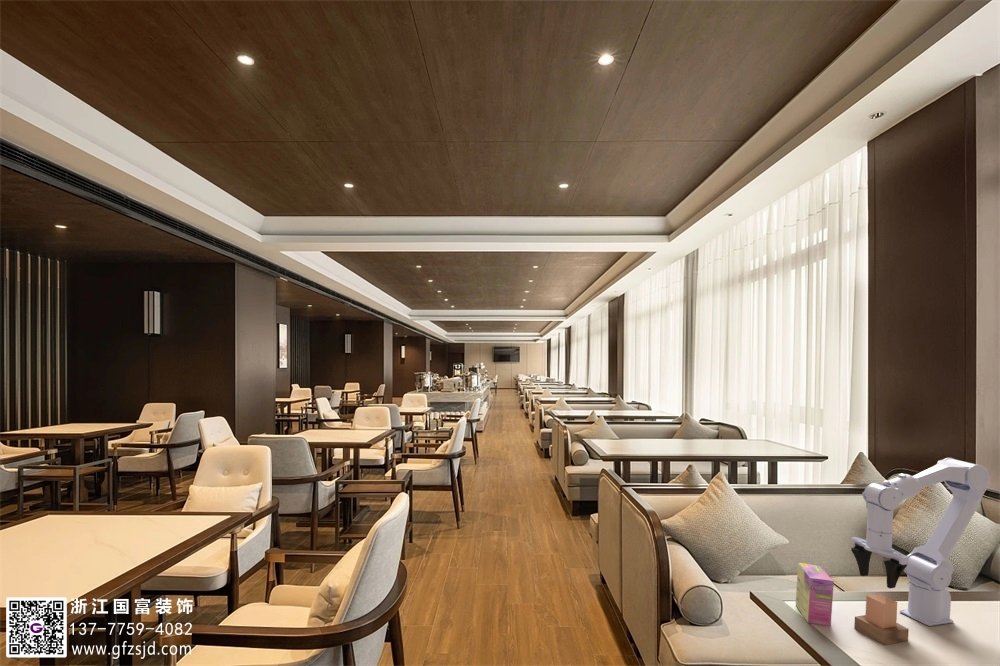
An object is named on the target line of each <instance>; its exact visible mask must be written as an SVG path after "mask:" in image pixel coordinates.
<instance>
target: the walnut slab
mask: <svg viewBox="0 0 1000 666" xmlns="http://www.w3.org/2000/svg"><path fill="white" fill-rule="evenodd" d="M865 616H866V614H864V615H859V616H858V615H857V616H854V624H853V625H854V630H856V631H858V632H859V633H862V634H864V635H866V636H868V637H869V638H871V639H873V640H874V639H875V640H874V641H876V640H877V641H876V642H878V641H879V642H878V643H880V644H881V645H884V646H886V645H893V644H899V643H904V642H909V632H910V631H909V630H910V629H909V627H906V626H904V625H902V624H900V623H898V622H896V626H894V627H888V628H881V627H879V626H877V625H875V624H873V623H871V622H870V621H868V620H866V619H865Z"/></svg>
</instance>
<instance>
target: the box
mask: <svg viewBox="0 0 1000 666" xmlns="http://www.w3.org/2000/svg"><path fill="white" fill-rule="evenodd" d="M796 576H797V577H796V590H795V592H796V594H795V606H796V607H797V608H798V610H799V612H800V613H801V615H802V616H803V618H804V619H805V621H806V623H808V624H812V625H818V626H819V625H820V626H825V627H826V625H827V627H831V626H832V614H833V613H832V612H833V598H834V583H835V581H834V580H833V579H832V578H831V576H830V575H828V573H827V572H826V571H825V570H824V569H823V568H822V566H821V565H817V564H811V563H804V562H798V563H797V575H796Z"/></svg>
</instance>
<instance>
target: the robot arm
mask: <svg viewBox="0 0 1000 666" xmlns="http://www.w3.org/2000/svg"><path fill="white" fill-rule="evenodd" d="M991 480H992V479H991V478H990V474H989V470H988V469H987V468H986V467H985V466H984V465H982V464H977V463H976V464H975V463H972V462H968V461H963V460H959V459H955V458H954V457H953V458H952V457H946V458H943V459H940V460H937V463H936V464H934V465H933V466H931V467H929V468H927V469H924V470H922V471H920V472H919V473H916V474H914V475H911V474H908V473H899V474H897V477H894V478H891V479H889V480H887V479H885V480H883V481H882V482H881V483H880V484H879V483H877V482H873V483H870V484H868V485H867V486H865V488H864V491H862V493H861V494H862V498H863V500H864V502H865V508H866V509H867V511H866V513H867V514H866V515H867V517H866V535H865V536H866V537H865V539H863V538H861V537H857V536H854V537H851V538H850V539H851V542H850V545H852V546H854V547H851V552H852V554H853V556H854V557H855V561H856V564H857V567H858V571H859V575H860V576H861V577H866V576H869V571H870V560H871V558H872V554H873V553H874V554H876V555H879V556H882V557H884V558H886V559H888V560H884V561H883V563H884V567H885V571H886V588H888V589H895V588H896V586H897V583H898V580H899V578H900V576H901V574H903V572H904V573H905V574H906V575H907V577H906V578H907V579H908V597H907V598H908V603H907V608H906V609H905V608H904V609H899V612H900V613H901V614H903V615H905V616H907V617H909V618H912V619H914V620H915V621H918V622H919V623H922V624H923V625H926V626H929V627H931V626H937V625H938V626H939V625H943V624H944V625H945V624H951V623H954V619H951V606H952V604H951V603H952V596H951V594H950V590H949V589H948V587H949V586H950V584H951V582H952V576H953V573H954V571H955V567H954V565H953V562H952V561H951V559H950V556H951V554H952V553H953V551H954V550H955V547H956V545H957V544H958V542H959V541H960V539H961V537H962V535H963V534H964V532H965V531H966V529H967V526H968V525H969V524H970V522H971V519H973V516H975V515H974V514H975V513H976V511H978V510H977V509H978V508H979V506H980V504H981V502H982V499H983V496H984V494H985V492H986V491H987V489H988V487H989V486H990V484H991V482H992V481H991ZM943 482H944V483H945V485H946V487H947V488H948V490H949V491H951V493H952V496H953V497H952V499H951V500H950V502H949V504H948V505H947V507H946V509H945V511H944V513H942V516H941V518H940V519H939V521H938V522H937V524H936V526H935V528H934V530H933V531H932V533H931V535H930V537H929V538H928V540H927V542H926V543H925V544H924V545H920V546H917V547H914V548H913V549H912V551H911V552H910V553H909V554H907V555H905V554H904V553H901V552H900V551H898V550H895V549H894V548H893V529H894V527H893V526H894V510H896V509H897V508H898V507H899V505H900V504H901V503H902V502H903V501H905V500H908V499H911V498H913V497H915V496H919V494H920V493H921V490H922V489H924V488H926V487H927V488H928V487H929V486H933V485H936V484H939V483H943Z"/></svg>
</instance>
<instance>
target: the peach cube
mask: <svg viewBox="0 0 1000 666" xmlns="http://www.w3.org/2000/svg"><path fill="white" fill-rule="evenodd" d="M865 597H866V599H865V615H866V616H865V619H866V620H868V621H870V622H871V623H873V624H875V625H877V626H879V627H881V628H888V627H894V626H896V623H897V620H898V619H897V615H898V601H896V600H894V599H892V598H890V597H887V596H886V595H883V594H881V593H875V594H867V595H866V596H865Z"/></svg>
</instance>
